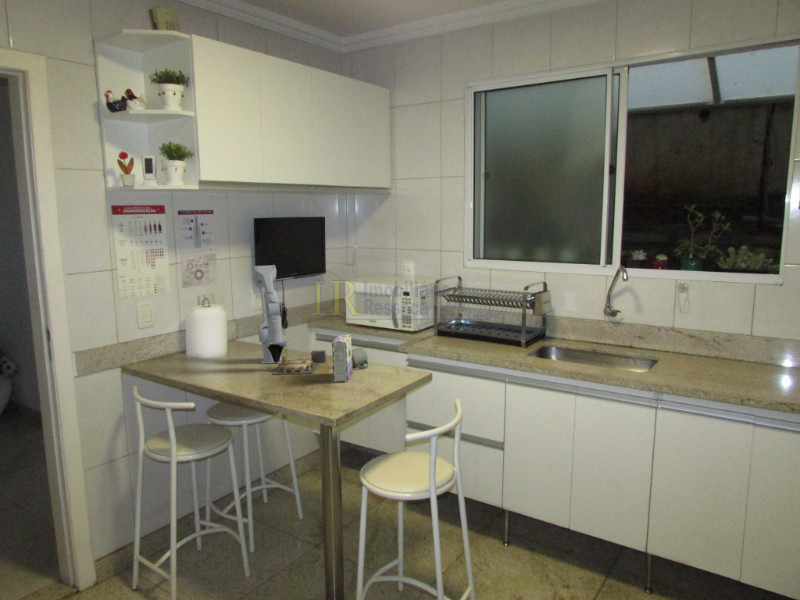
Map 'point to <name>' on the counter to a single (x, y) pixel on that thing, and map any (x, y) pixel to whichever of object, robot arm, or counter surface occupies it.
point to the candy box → (342, 358)
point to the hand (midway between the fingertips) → (276, 361)
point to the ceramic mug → (359, 358)
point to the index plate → (296, 372)
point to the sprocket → (295, 365)
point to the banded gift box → (318, 356)
